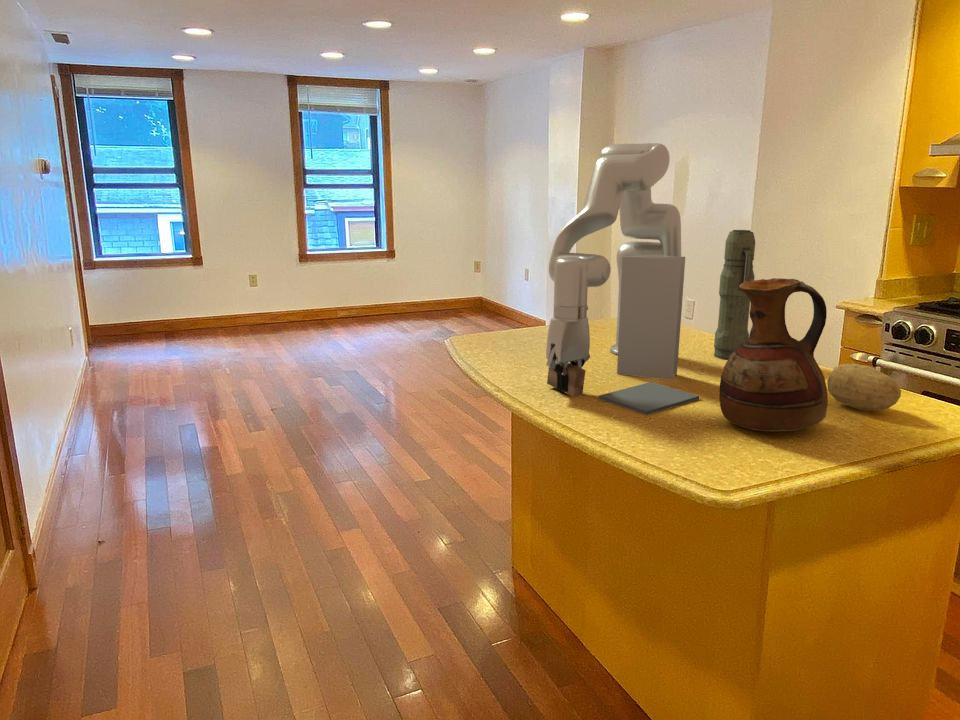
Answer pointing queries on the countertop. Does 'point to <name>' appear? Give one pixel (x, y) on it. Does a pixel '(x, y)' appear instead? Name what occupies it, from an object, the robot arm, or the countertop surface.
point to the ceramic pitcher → (775, 364)
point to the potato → (863, 387)
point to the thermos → (734, 293)
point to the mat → (648, 398)
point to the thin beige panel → (650, 315)
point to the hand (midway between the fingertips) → (567, 388)
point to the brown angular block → (569, 379)
